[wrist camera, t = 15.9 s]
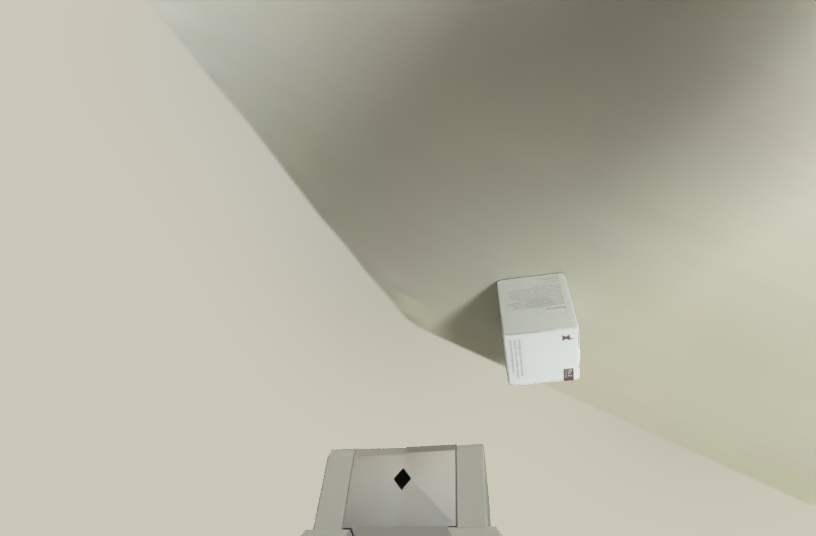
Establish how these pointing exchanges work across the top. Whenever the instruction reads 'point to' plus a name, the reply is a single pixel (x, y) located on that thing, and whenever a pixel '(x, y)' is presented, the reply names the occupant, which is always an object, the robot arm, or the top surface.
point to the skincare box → (539, 330)
